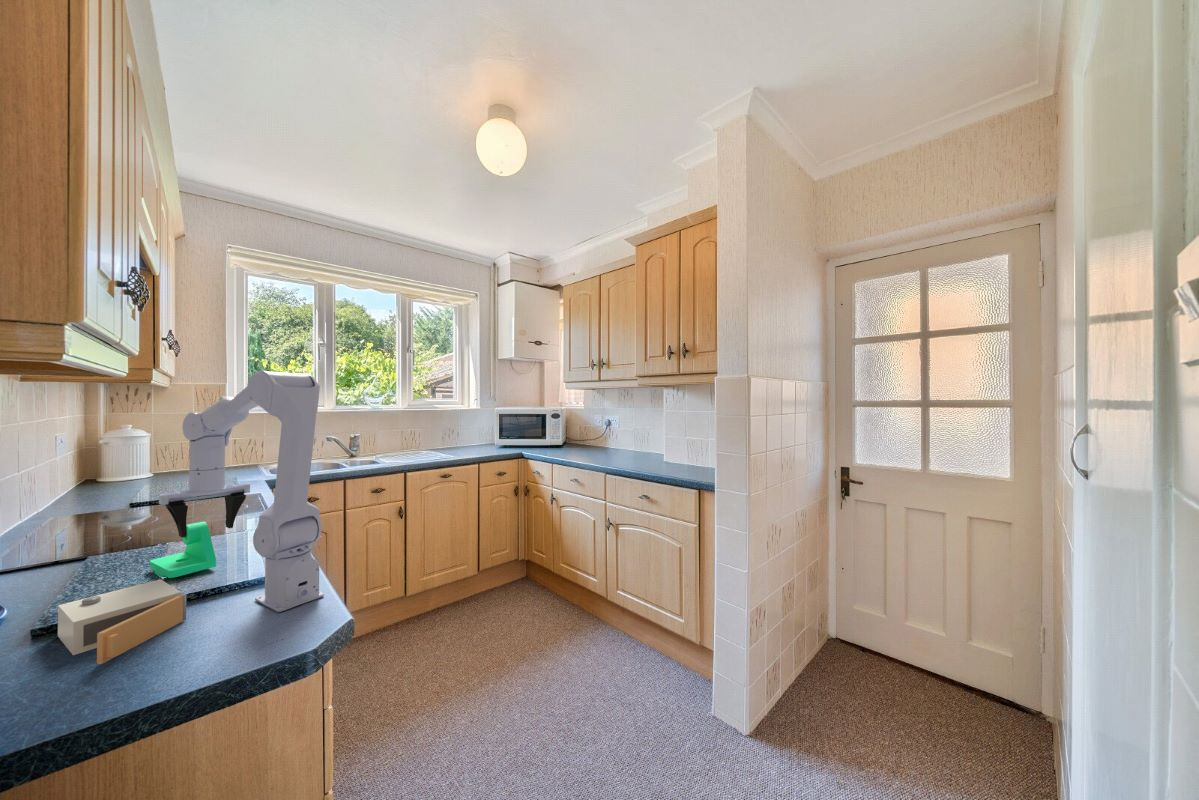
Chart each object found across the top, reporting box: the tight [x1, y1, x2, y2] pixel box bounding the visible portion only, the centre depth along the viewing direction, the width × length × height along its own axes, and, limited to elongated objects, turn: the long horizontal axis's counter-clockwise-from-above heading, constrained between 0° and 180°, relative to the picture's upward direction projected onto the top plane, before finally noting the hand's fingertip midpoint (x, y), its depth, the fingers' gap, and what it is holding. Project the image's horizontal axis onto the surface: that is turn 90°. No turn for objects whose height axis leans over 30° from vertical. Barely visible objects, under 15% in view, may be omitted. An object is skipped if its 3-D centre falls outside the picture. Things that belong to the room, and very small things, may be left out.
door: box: [96, 593, 187, 665], centre depth 69 cm, size 13×2×4 cm, turn 0°
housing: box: [57, 578, 182, 656], centre depth 73 cm, size 11×12×6 cm
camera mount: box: [149, 521, 217, 579], centre depth 96 cm, size 12×8×10 cm, turn 61°
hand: (206, 531), depth 93 cm, fingers open, 7 cm apart
